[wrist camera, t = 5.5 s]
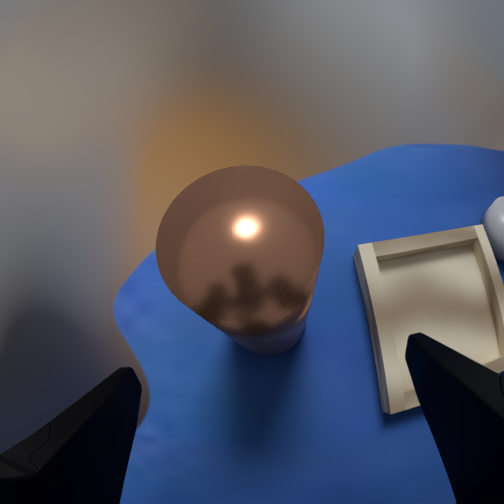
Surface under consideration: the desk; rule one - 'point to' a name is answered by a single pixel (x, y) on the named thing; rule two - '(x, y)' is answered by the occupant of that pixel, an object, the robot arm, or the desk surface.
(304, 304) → the copper cylinder
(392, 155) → the desk surface
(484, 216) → the flattened gray dome
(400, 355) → the tray
